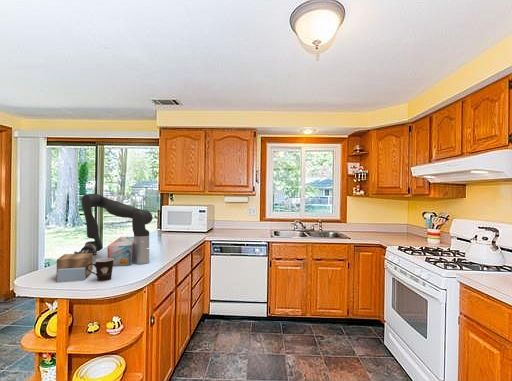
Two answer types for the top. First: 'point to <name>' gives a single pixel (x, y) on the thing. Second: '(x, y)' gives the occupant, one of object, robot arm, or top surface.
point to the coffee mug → (103, 268)
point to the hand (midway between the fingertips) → (82, 256)
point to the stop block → (70, 274)
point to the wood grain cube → (76, 261)
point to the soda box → (122, 251)
